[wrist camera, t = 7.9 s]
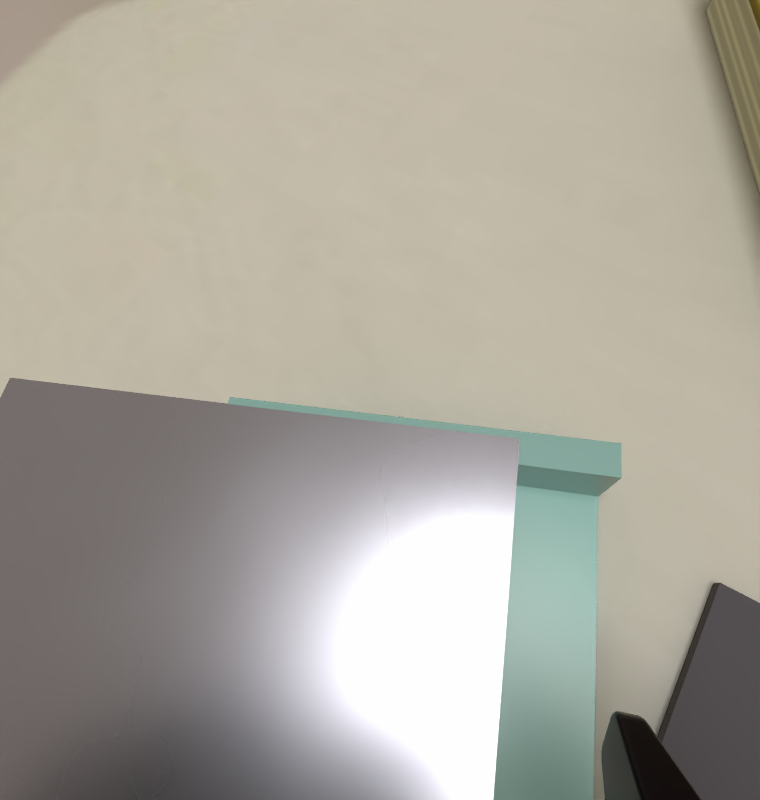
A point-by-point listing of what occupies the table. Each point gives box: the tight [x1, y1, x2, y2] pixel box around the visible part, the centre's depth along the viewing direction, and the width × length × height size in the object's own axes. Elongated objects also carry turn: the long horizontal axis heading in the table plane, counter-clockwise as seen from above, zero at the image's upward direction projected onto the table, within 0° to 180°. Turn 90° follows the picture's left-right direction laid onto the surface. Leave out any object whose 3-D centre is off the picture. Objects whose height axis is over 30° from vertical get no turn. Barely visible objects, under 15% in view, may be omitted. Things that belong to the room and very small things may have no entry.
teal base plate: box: [228, 397, 621, 800], centre depth 15 cm, size 12×12×4 cm
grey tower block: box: [0, 378, 520, 800], centre depth 9 cm, size 4×4×13 cm
